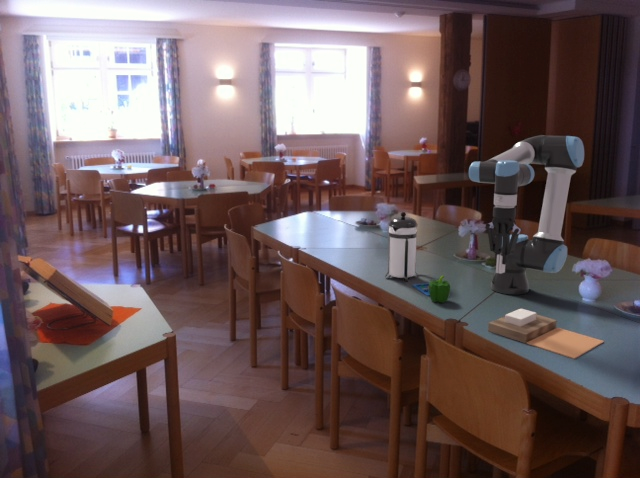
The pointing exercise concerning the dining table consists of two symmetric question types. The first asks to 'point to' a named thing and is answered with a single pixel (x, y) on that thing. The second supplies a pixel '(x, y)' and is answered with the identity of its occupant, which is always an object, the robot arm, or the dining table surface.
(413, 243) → the coffee press
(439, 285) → the bell pepper
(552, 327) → the board
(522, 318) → the cream block
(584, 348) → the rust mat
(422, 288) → the handheld gaming device
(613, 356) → the dining table surface
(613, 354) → the dining table surface
